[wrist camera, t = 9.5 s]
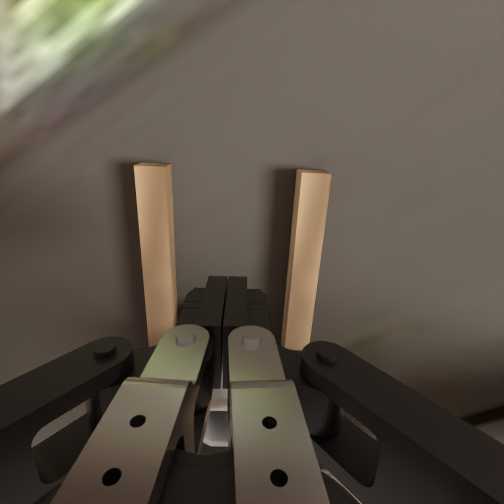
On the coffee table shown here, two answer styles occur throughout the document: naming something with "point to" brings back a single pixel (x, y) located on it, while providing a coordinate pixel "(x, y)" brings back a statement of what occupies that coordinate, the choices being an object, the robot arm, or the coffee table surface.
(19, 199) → the coffee table surface
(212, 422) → the flask
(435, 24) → the coffee table surface
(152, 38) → the coffee table surface
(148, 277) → the beam channel
